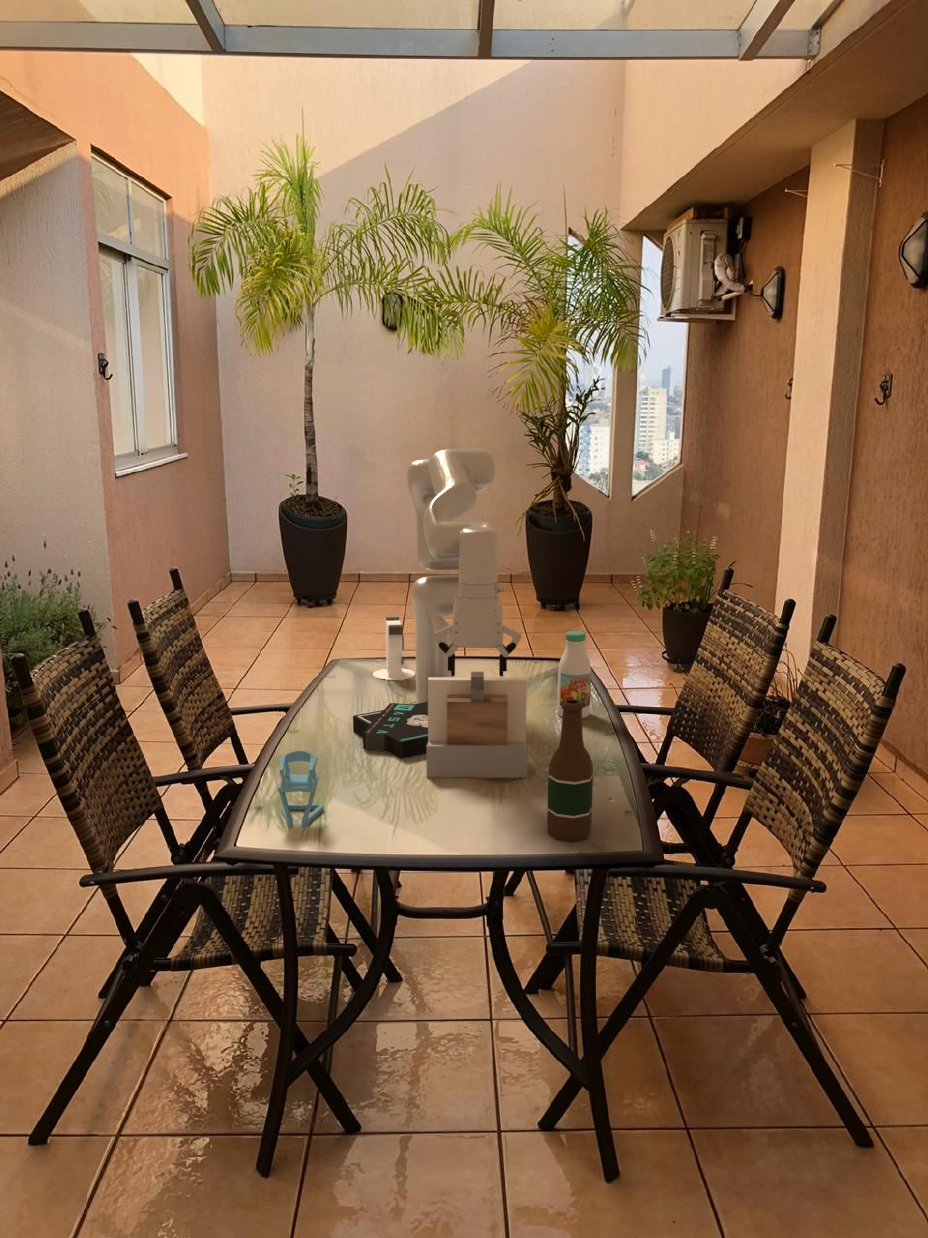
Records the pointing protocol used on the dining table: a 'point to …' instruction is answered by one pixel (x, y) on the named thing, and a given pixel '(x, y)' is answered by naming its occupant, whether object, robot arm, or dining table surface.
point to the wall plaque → (395, 729)
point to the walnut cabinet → (477, 716)
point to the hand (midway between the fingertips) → (477, 674)
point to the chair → (299, 787)
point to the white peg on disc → (394, 653)
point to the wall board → (477, 757)
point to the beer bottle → (570, 780)
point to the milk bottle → (574, 673)
